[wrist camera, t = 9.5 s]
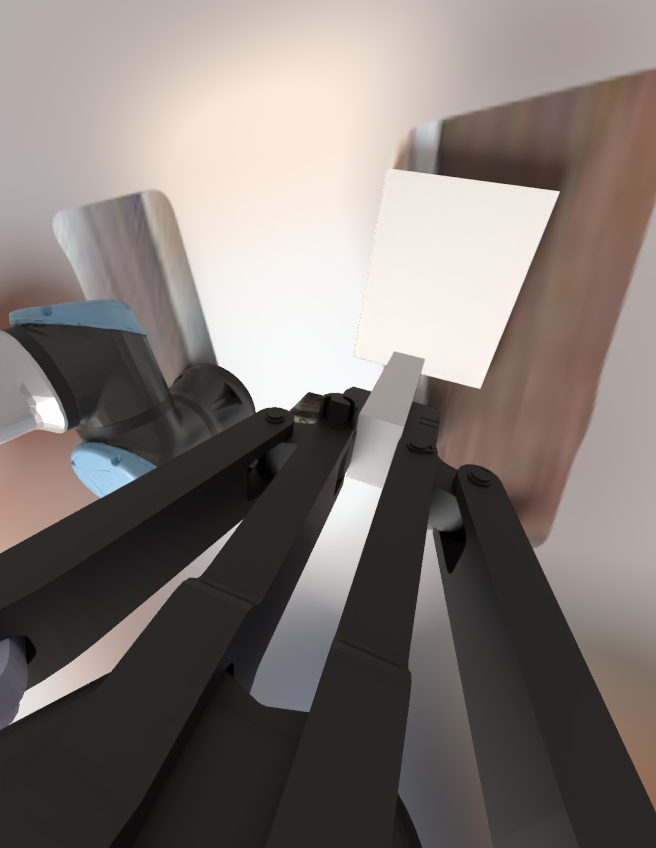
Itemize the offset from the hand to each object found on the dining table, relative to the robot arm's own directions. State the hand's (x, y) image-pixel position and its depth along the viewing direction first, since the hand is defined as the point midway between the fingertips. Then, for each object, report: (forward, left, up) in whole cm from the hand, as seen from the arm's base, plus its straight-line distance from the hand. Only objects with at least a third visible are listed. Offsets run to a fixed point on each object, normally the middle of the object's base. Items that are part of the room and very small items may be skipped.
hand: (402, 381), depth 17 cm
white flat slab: (0, 0, -29) cm, 29 cm away
